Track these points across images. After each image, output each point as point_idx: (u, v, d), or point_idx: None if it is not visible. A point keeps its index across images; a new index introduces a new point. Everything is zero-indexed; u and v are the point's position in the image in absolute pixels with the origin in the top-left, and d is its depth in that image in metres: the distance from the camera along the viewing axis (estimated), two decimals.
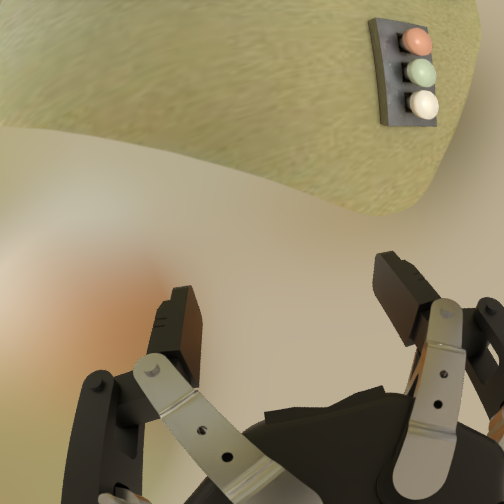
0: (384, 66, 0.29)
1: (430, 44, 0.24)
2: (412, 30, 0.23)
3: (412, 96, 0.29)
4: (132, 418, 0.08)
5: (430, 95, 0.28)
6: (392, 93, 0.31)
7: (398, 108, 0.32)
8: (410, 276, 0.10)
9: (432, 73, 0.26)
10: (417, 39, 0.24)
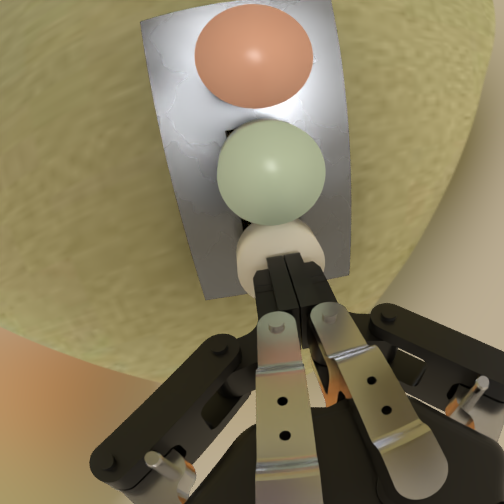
0: (169, 161, 0.13)
1: (303, 54, 0.08)
2: (213, 22, 0.07)
3: (238, 244, 0.14)
4: (249, 383, 0.09)
5: (293, 240, 0.12)
6: (203, 228, 0.15)
7: (226, 260, 0.16)
8: (305, 278, 0.11)
9: (307, 169, 0.10)
10: (234, 52, 0.08)
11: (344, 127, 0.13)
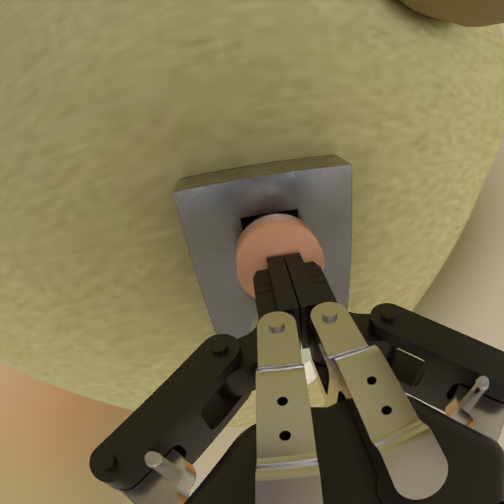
0: (208, 306, 0.18)
1: None
2: (251, 245, 0.12)
3: None
4: (249, 383, 0.09)
5: None
6: None
7: None
8: (305, 278, 0.11)
9: None
10: (267, 268, 0.13)
11: (346, 277, 0.17)
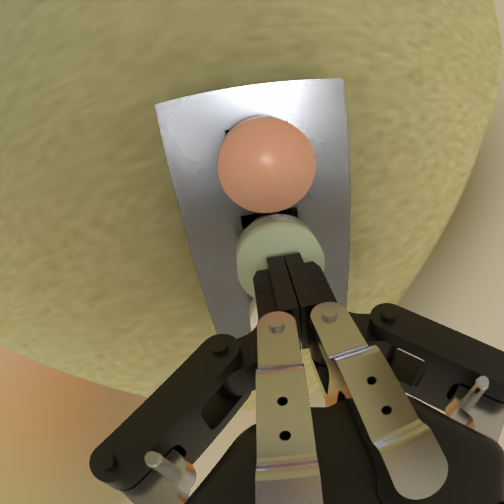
0: (190, 241, 0.15)
1: (307, 165, 0.11)
2: (233, 137, 0.11)
3: (251, 306, 0.16)
4: (249, 383, 0.09)
5: None
6: (220, 294, 0.17)
7: (240, 317, 0.19)
8: (305, 278, 0.11)
9: None
10: (251, 166, 0.11)
11: (346, 208, 0.15)
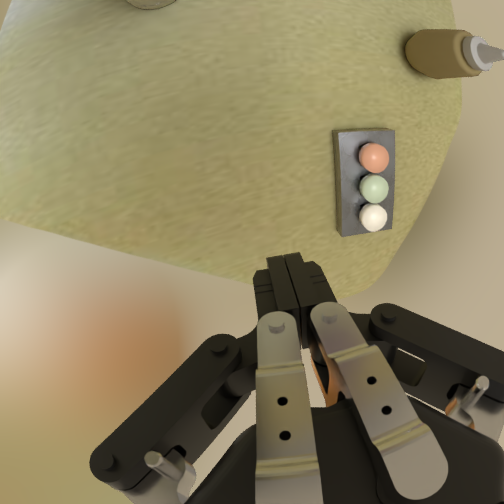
0: (341, 184, 0.39)
1: (386, 159, 0.35)
2: (368, 149, 0.34)
3: (362, 211, 0.40)
4: (249, 383, 0.09)
5: (379, 210, 0.39)
6: (347, 208, 0.41)
7: (352, 220, 0.42)
8: (305, 278, 0.11)
9: (384, 188, 0.37)
10: (372, 158, 0.35)
11: (393, 176, 0.39)
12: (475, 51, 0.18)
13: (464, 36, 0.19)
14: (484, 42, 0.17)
